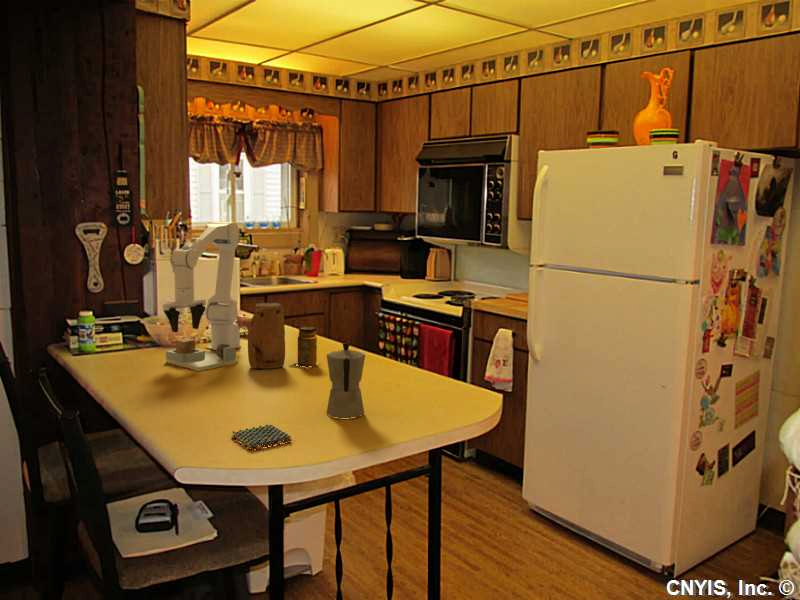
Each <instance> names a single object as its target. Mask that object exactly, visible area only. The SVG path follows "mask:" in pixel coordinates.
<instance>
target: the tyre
mask: <svg viewBox="0 0 800 600" xmlns="http://www.w3.org/2000/svg"><path fill="white" fill-rule="evenodd" d="M226 347H231V346H230V345H227V344H220V345H219V346H218V347H217V350H215V351H216V352H215V354H217V356H218V357H219V358H223V348H226Z"/></svg>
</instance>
